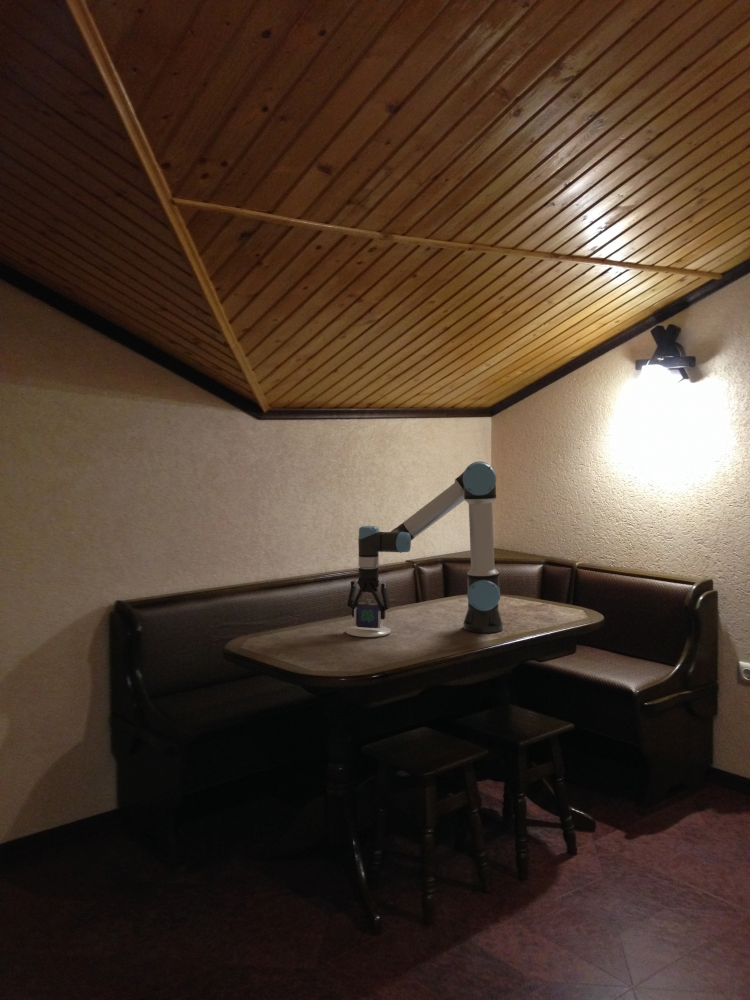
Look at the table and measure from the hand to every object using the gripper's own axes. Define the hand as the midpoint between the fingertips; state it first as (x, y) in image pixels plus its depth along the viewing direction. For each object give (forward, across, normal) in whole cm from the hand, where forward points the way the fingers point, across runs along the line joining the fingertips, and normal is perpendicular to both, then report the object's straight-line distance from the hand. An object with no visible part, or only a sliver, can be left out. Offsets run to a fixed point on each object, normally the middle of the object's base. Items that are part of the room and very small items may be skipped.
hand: (368, 626), depth 310 cm
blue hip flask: (0, 0, 0) cm, 0 cm away
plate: (+3, 0, 0) cm, 3 cm away
